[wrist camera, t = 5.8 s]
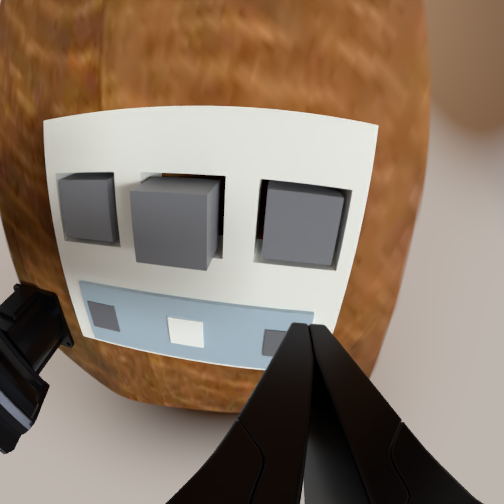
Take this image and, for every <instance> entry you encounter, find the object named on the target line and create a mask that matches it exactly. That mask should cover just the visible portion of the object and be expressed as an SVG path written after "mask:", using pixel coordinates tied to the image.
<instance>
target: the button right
mask: <svg viewBox="0 0 504 504" xmlns="http://www.w3.org/2000/svg"><path fill="white" fill-rule="evenodd" d="M343 201H344V197H343V196H342V194H341V193H340V192H339V190H338V189H337V188H335V187H327V186H320V185H312V184H304V183H295V182H286V181H277V180H269V184H268V191H267V202H266V213H265V224H264V235H263V245H262V256H261V258H265V259H274V260H284V261H294V262H303V263H313V264H323V265H331V262H332V258H333V253H334V248H335V243H336V239H337V234H338V228H339V223H340V218H341V212H342V207H343Z"/></svg>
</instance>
